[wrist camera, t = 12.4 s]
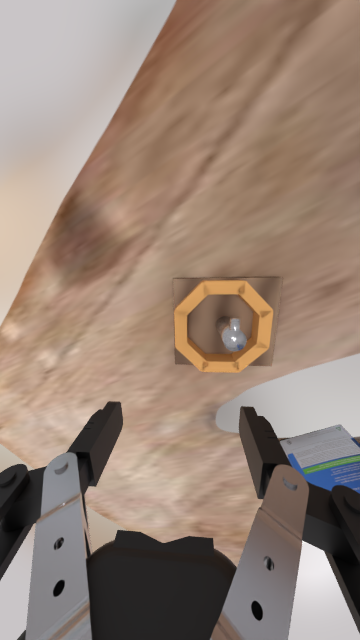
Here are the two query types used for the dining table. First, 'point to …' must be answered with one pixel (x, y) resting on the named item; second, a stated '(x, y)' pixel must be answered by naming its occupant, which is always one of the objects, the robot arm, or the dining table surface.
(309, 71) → the dining table surface
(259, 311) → the orange octagonal ring
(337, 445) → the string lights box
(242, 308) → the hook stand
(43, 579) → the robot arm
